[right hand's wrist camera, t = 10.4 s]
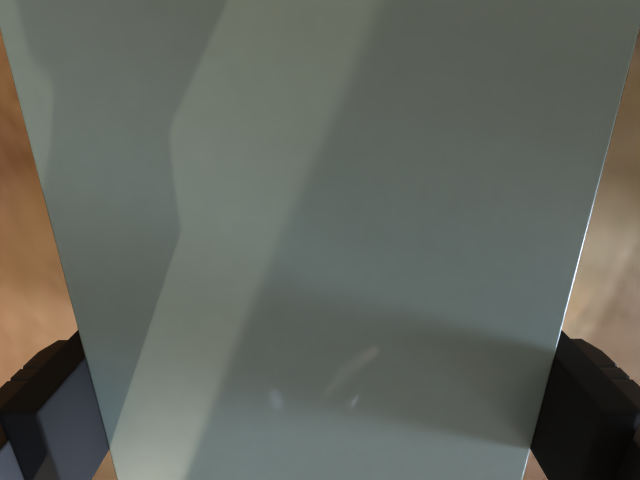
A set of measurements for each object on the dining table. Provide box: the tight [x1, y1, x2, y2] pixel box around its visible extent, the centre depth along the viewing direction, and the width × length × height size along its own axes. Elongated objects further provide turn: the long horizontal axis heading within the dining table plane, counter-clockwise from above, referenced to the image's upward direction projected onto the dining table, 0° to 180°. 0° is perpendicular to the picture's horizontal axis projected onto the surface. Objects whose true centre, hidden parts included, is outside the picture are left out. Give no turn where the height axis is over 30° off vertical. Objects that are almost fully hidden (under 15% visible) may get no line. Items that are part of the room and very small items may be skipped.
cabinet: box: [0, 0, 640, 480], centre depth 11 cm, size 21×10×9 cm, turn 0°
